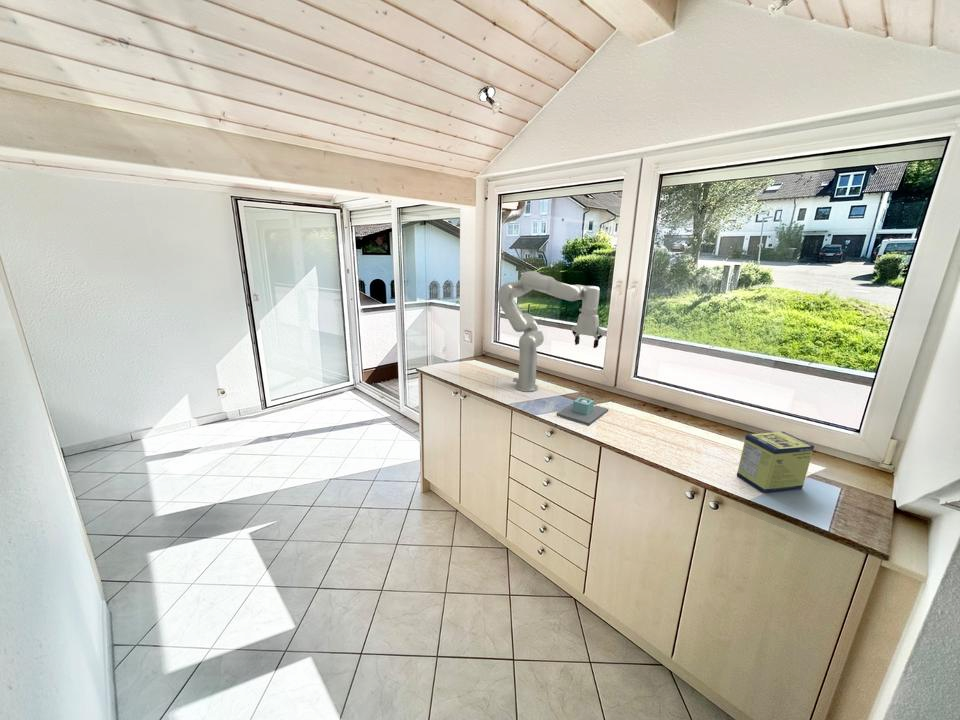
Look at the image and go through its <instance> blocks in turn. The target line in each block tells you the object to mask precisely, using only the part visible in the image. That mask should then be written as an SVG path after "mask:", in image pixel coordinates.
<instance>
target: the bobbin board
mask: <svg viewBox="0 0 960 720" xmlns="http://www.w3.org/2000/svg"><path fill="white" fill-rule="evenodd" d="M581 402H582V403H586V404H587V401H586V400H581ZM608 412H609V408H606V407H602V406H600V405H595V404H594V406H593V411H592V412H591V413H589V414H588V415H584V414H581V413H577V412H574V411H573V403H571V404H569V405H568V406H566V407H564V408H562V409H561V410H560V411H558V412H556V415H557V417H559V416H560V418H562V417H563V419H566V420H569V421H573V422H576V423H578V424H582V425H585V426H590V425H592V424H594V422H596V421H597V420H598V419H600V418H602V417H603V416H604V415H605V414H607V413H608ZM556 415H555V416H556Z"/></svg>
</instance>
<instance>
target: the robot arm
mask: <svg viewBox="0 0 960 720" xmlns="http://www.w3.org/2000/svg"><path fill="white" fill-rule="evenodd" d="M531 291H537V292H540V293H544V294H547V295H549V296H551V297H554V298H557V299H561V300H565V301H568V302H575V301H579V300H582V301H581V302H582V303H581V304H582V305H581V307H579V308H578V311H579V312H580V313H579V315H578V318H577V323H576V324H575V325H574V326H571V328H570V329H571V331H572V332H571V333H572V335H573V336H574V345H576V346H578V345H579V344H580V339H581V338H580V336H581V335H583V336H589V337H593V338H594V340H593V349H597V348H598V346H599V342H600V339H602V338H603V336H605V335H606V331H605V330H604V329H602V328H601V327H600V318H599V317H600V316H599V315H598V311H599V301H600V292H601V288H600V287H599V286H596V285H584V284H583V285H582V284H568V283H565V282H561V281H558V280H556V279H555V278H554V277H553V276H550V275H545V274H541V273H540V272H538V271H536V270H535V271H534V270H528V271H525V272H522V274H521V276H520V279H518V280H516V281H511V282H510V281H509V282H504V284H502V285H501V286H500V287H499V289H498V291H497V301H498V304H499V306H500V307H501V310H502V312H504V315H505V316H506V319H507V320H508V322H509V324H510V325H511V327H512V329H513V330H514V331H515V332H516V333H523V334H521V336H520V338H519V341H518V351H519V357H518V358H519V363H518V364H519V365H518V377H513V380H512V382H513V383H516V384H515V385H514V387H515V389H516V390H517V391H520V392H531V393H532V392H535V391H537V390H538V389H539V387H538V385H537V384H536V380H537V377H536V376H537V366H538V365H537V363H538V352H537V348H538V347H540V346H541V345H543V342H544V340H545V336H544V334H543V331H542V330H541V328H540V326H539V325H538V323H537V321H536V319H535V318H534V316H533V315H532V314H530V313H527V312H524V313H523V311H522V310H521V308H520V306H519V304H518V303H517V302H516V301H515V300H514V299H515V298H519V297H523V296H524V295H525V294H528V293H529V292H531ZM599 333H600V334H599Z"/></svg>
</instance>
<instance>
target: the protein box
mask: <svg viewBox="0 0 960 720" xmlns="http://www.w3.org/2000/svg"><path fill="white" fill-rule="evenodd" d="M814 448H815V445H813V444H812V443H808V442H807V441H804V439H803V440H802V439H800V438H798V437H796V436H793V434H792V435H791V434H789V433H787V432H785V431H774V432H761V433H749V434H745V438H744V443H743V447H742V452H741V456H740V459H739V460H740V461H739V464H738V468H737V472H736V476H737V478H740V479H741V480H743V481H744V482H746V483H747V484H749V485H750V486H751V487H753V488H755V489H757V490H758V491H760V492H761V493H763V494H769V493H771V494H772V493H778V492H785V491H786V492H789V491H795V490H796V491H797V490H802V489H803V487H804V484H805V480H806V476H807V474H808V473H807V472H808V470H809V465H810V462H811V459H812V456H813V454H814V453H813V452H814Z"/></svg>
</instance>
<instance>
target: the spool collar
mask: <svg viewBox="0 0 960 720" xmlns="http://www.w3.org/2000/svg"><path fill="white" fill-rule="evenodd" d="M581 400H586V401H587V404H586V403H582V402H581ZM572 404H573V411H574V412H577V413H581V414H584V415H588V414H589V413H591V412H592V411H593V407H594V406H595V400H592V399H589V398H585V397H581V396H580V397H578V398H576V399H574V400H573V403H572Z"/></svg>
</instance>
